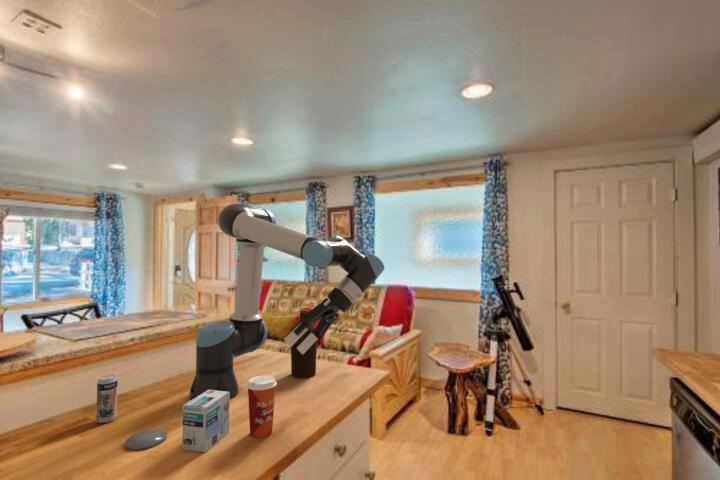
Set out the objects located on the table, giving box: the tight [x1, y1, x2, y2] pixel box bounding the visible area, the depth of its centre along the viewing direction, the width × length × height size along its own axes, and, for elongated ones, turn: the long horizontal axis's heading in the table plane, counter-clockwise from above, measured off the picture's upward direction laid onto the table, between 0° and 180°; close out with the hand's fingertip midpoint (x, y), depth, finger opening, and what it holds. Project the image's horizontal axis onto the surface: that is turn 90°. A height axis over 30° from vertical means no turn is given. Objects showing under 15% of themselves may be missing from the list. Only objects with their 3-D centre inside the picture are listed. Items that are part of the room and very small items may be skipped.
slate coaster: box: [125, 428, 168, 451], centre depth 92 cm, size 9×9×1 cm
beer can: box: [95, 374, 119, 424], centre depth 103 cm, size 5×5×12 cm
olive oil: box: [290, 309, 318, 379], centre depth 143 cm, size 11×11×25 cm
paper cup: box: [246, 375, 278, 440], centre depth 96 cm, size 8×8×14 cm
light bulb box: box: [181, 390, 231, 453], centre depth 92 cm, size 11×7×11 cm, turn 168°
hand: (293, 347), depth 106 cm, fingers open, 13 cm apart
